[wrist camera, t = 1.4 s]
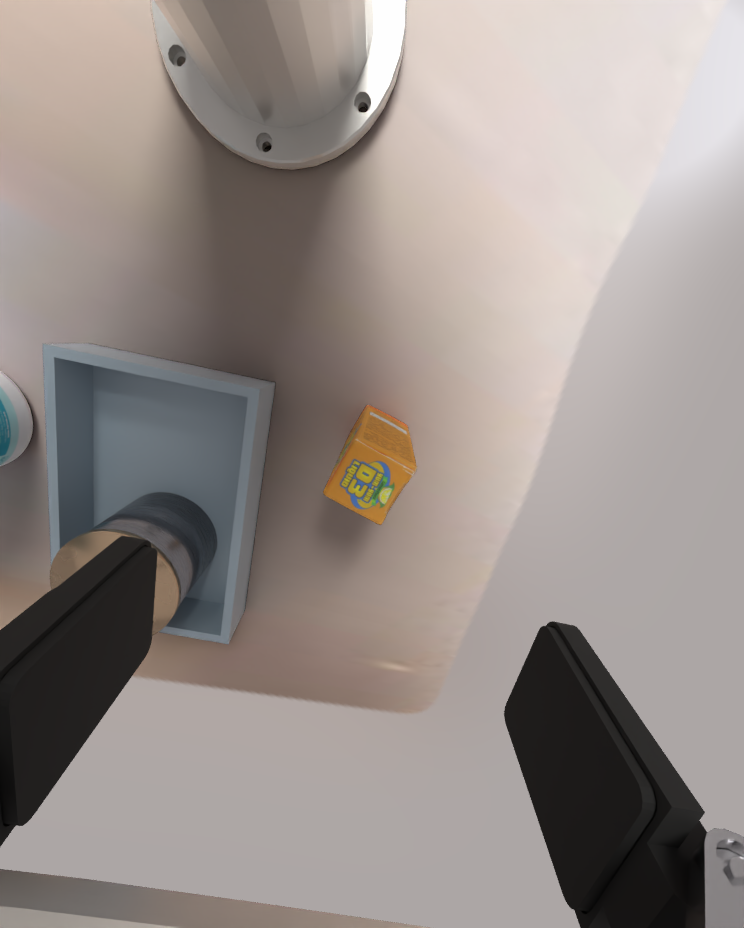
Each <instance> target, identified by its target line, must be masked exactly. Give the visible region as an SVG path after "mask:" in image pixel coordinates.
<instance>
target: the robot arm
mask: <svg viewBox="0 0 744 928" xmlns="http://www.w3.org/2000/svg"><path fill="white" fill-rule="evenodd" d="M406 13H407V0H151V14H152V19H153V24H154V29H155V35H156V40H157V44H158V47H159V49H160V52H161V55H162V58H163V61H164V64H165V67H166V70H167V72H168V74H169V76H170V78H171V80H172V82H173V83H174V85H175V87H176V89H177V91H178V93H179V95H180V97H181V98H182V99H183V101H184V102H185V104H186V105H187V106H188V108H189V109H190V110H191V112H192V113H193V114H194V116H195V117H196V118H197V120H198V121H199V122H200V123H201V124H202V125H203V126H204V127H205V129H206V130H207V131H208V132H209V133H210V134H211V135H212V136H213V137H214V138H215V139H217V140H218V141H219V142H220V143H221V144H223V145H224V146H225V147H226V148H228V149H229V150H230V151H232V152H234V153H235V154H237V155H239V156H241V157H243V158H245V159H247V160H248V161H250V162H253V163H257V164H260V165H263V166H267V167H270V168H278V169H292V170H294V169H301V168H307V167H314V166H317V165H319V164H322V163H324V162H327V161H329V160H332V159H335V158H336V157H338V156H339V155H341V154H342V153H344V152H345V151H347V150H348V149H350V148H351V147H353V146H354V145H355V144H356V143H357V142H358V141H359V140H360V139H361V138H362V137H363V136H364V135H365V134H366V133H367V132H368V131H369V130H370V129H371V127H372V126H373V124H374V123H375V121H376V120H377V118H378V117H379V115H380V114H381V112H382V111H383V109H384V108H385V106H386V103H387V101H388V99H389V97H390V94H391V92H392V90H393V88H394V85H395V83H396V79H397V75H398V72H399V68H400V64H401V60H402V57H403V48H404V41H405V33H406ZM184 62H185V63H184ZM183 63H184V64H183ZM182 64H183V65H182ZM181 65H182V66H181ZM361 107H366V108H367V110H368V111H366V112H363V113H361V112H359V109H360V108H361ZM267 145H270V146H272V148H271V150H269V151H268V152H264V149H265V147H266V146H267ZM156 569H157V549H155V548H151V543H150V541H148V540H144V539H139V538H134V537H129V536H121V537H119V538H118V539H116V540H115V541H114V542H113V543H111V544H110V545H109V546H108V547H106V548H105V549H104V550H103V551H101V552H100V553H99V554H98V555H96V556H95V557H94V558H93V559H91V560H90V561H89V562H88V563H86V564H85V565H84V566H83V567H81V568H80V569H79V570H78V571H76V572H75V573H74V574H73V575H71V576H70V577H69V578H68V579H66V580H65V581H64V582H63V583H61V584H60V585H59V586H58V587H56V588H54V589H53V590H51V591H49V592H48V593H47V594H45V595H44V596H43V597H42V598H40V599H39V600H38V601H37V602H35V603H34V604H33V605H32V606H30V607H29V608H28V609H26V610H25V611H24V612H23V613H21V614H20V615H19V616H18V617H16V618H15V619H14V620H13V621H11V622H10V623H9V624H8V625H6V626H5V627H4V628H3V629H1V630H0V846H1V845H2V844H3V842H4V841H5V839H6V838H7V837H8V835H9V834H10V833H11V831H12V830H13V828H14V827H15V826H16V825H18V826H23V825H24V824H26V823H27V822H28V821H29V820H30V819H31V818H32V816H33V815H34V813H35V812H36V811H37V810H38V808H39V807H40V805H41V804H42V802H43V801H44V800H45V798H46V797H47V795H48V794H49V792H50V791H51V790H52V788H53V787H54V785H55V784H56V783H57V781H58V780H59V778H60V777H61V775H62V774H63V773H64V771H65V770H66V768H67V767H68V766H69V764H70V762H71V761H72V760H73V759H74V757H75V756H76V754H77V753H78V752H79V750H80V749H81V747H82V746H83V744H84V743H85V742H86V740H87V739H88V737H89V736H90V735H91V733H92V732H93V730H94V729H95V727H96V726H97V725H98V723H99V722H100V720H101V719H102V717H103V716H104V715H105V713H106V712H107V710H108V709H109V707H110V706H111V705H112V703H113V702H114V701H115V699H116V698H117V696H118V695H119V693H120V692H121V691H122V689H123V688H124V686H125V685H126V683H127V682H128V681H129V679H130V678H131V676H132V675H133V674H134V672H135V671H136V669H137V668H138V667H139V665H140V664H141V662H142V661H143V659H144V658H145V656H146V655H147V653H148V651H149V648H150V645H151V641H152V628H153V613H154V598H155V584H156ZM504 712H505V713H504V716H505V722H506V726H507V729H508V732H509V735H510V738H511V741H512V744H513V747H514V750H515V753H516V755H517V759H518V762H519V764H520V767H521V771H522V773H523V777H524V779H525V782H526V785H527V788H528V791H529V794H530V797H531V800H532V803H533V806H534V809H535V812H536V815H537V818H538V821H539V824H540V827H541V830H542V833H543V836H544V839H545V842H546V845H547V848H548V851H549V854H550V857H551V860H552V863H553V866H554V869H555V872H556V875H557V878H558V881H559V884H560V887H561V890H562V893H563V896H564V898H565V900H566V902H567V904H568V905H569V907H570V908H572V909H574V910H575V913H576V916H577V919H578V922H579V924H580V927H581V928H744V837H742V836H741V835H739V834H737V833H734V832H731V831H729V830H726V829H717V828H714V829H712V830H710V831H709V832H706V830H705V829H704V827H703V826H702V824H701V823H700V821H699V820H700V819H701V817H702V816H703V814H704V813H705V812H704V811H703V809H702V808H701V806H700V805H699V803H698V802H697V800H696V799H695V797H694V796H693V794H692V793H691V792H690V790H689V789H688V787H687V786H686V785H685V783H684V781H683V780H682V778H681V777H680V776H679V774H678V773H677V771H676V770H675V768H674V767H673V766H672V764H671V763H670V761H669V760H668V758H667V757H666V755H665V754H664V752H663V751H662V749H661V748H660V746H659V745H658V744H657V742H656V741H655V739H654V738H653V736H652V735H651V733H650V732H649V730H648V729H647V728H646V726H645V725H644V723H643V722H642V720H641V719H640V717H639V716H638V714H637V713H636V712H635V710H634V709H633V707H632V706H631V704H630V703H629V701H628V700H627V698H626V697H625V696H624V694H623V693H622V691H621V690H620V688H619V687H618V685H617V684H616V683H615V681H614V680H613V678H612V677H611V675H610V674H609V672H608V671H607V669H606V668H605V667H604V665H603V664H602V662H601V661H600V659H599V658H598V656H597V655H596V654H595V652H594V650H593V649H592V648H591V646H590V645H589V643H588V642H587V640H586V639H585V637H584V636H583V635H582V633H581V632H580V630H579V629H578V628H577V627H575V626H573V625H567V624H563V623H558V622H549V623H548V624H547V625H546V626H543V627H541V628H540V630H539V631H538V634H537V636H536V638H535V640H534V643H533V645H532V647H531V649H530V652H529V654H528V656H527V658H526V661H525V663H524V665H523V667H522V670H521V672H520V674H519V676H518V679H517V681H516V683H515V685H514V688H513V690H512V692H511V695H510V697H509V699H508V701H507V703H506V706H505V711H504ZM0 928H429V927H422V926H415V925H409V924H402V923H395V922H388V921H381V920H374V919H367V918H361V917H353V916H347V915H339V914H333V913H325V912H319V911H312V910H305V909H298V908H291V907H284V906H277V905H270V904H263V903H256V902H249V901H242V900H234V899H227V898H219V897H213V896H205V895H198V894H190V893H183V892H176V891H168V890H161V889H155V888H147V887H140V886H133V885H125V884H117V883H111V882H103V881H96V880H89V879H81V878H73V877H64V876H55V875H47V874H37V873H29V872H21V871H12V870H3V869H0Z"/></svg>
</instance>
